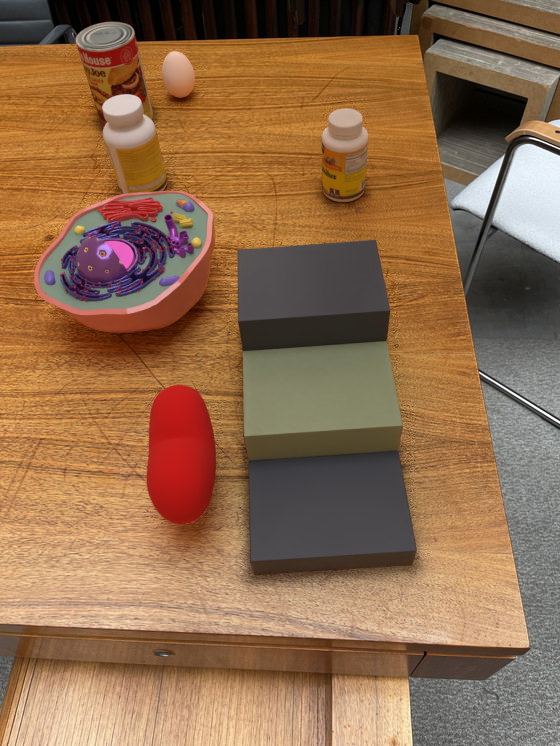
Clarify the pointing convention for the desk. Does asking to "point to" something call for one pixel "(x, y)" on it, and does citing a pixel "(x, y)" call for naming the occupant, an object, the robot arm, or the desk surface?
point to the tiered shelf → (321, 410)
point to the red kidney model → (180, 455)
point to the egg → (178, 74)
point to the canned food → (112, 64)
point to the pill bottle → (133, 146)
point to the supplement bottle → (344, 156)
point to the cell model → (130, 261)
